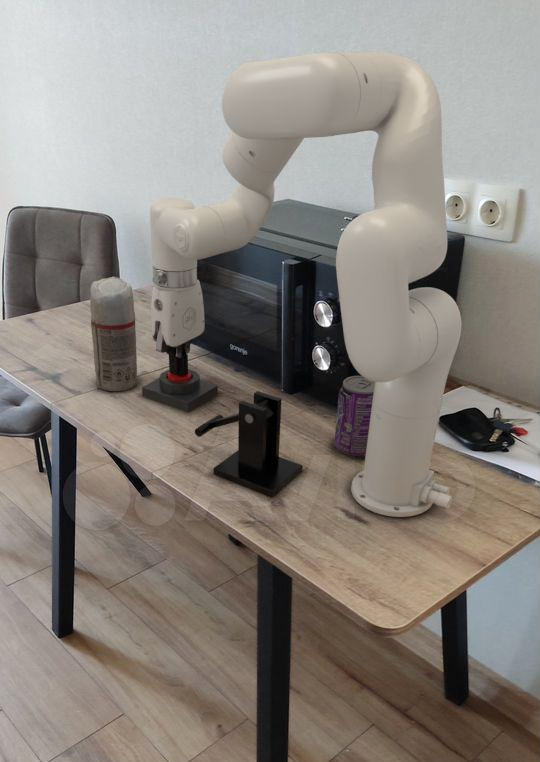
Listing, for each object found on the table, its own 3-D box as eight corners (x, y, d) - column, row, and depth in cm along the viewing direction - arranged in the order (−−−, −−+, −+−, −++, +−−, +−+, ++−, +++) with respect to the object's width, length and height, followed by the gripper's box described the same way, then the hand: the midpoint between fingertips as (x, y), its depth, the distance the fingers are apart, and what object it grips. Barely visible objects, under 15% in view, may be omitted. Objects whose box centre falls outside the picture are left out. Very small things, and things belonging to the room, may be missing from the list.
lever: (198, 440, 111) (191, 426, 111) (220, 425, 115) (214, 412, 115) (259, 424, 103) (252, 409, 102) (280, 409, 107) (274, 394, 106)
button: (196, 383, 132) (196, 373, 131) (181, 391, 129) (181, 381, 128) (178, 377, 134) (177, 367, 133) (163, 385, 131) (162, 375, 130)
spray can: (144, 376, 140) (137, 276, 129) (134, 394, 133) (125, 290, 122) (103, 372, 140) (92, 273, 129) (90, 390, 134) (78, 287, 123)
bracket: (213, 474, 111) (212, 401, 104) (245, 450, 117) (246, 380, 110) (272, 497, 106) (275, 422, 99) (302, 471, 112) (307, 399, 105)
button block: (217, 394, 134) (217, 375, 132) (188, 412, 128) (187, 392, 125) (172, 380, 139) (172, 361, 137) (142, 396, 132) (140, 377, 130)
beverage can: (344, 433, 123) (351, 370, 116) (382, 445, 120) (391, 381, 113) (326, 451, 118) (332, 386, 111) (365, 463, 115) (373, 397, 108)
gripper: (164, 291, 114) (168, 393, 124) (218, 270, 124) (218, 365, 134) (129, 282, 117) (136, 382, 127) (185, 262, 128) (188, 356, 138)
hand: (178, 373), depth 131 cm, fingers closed
